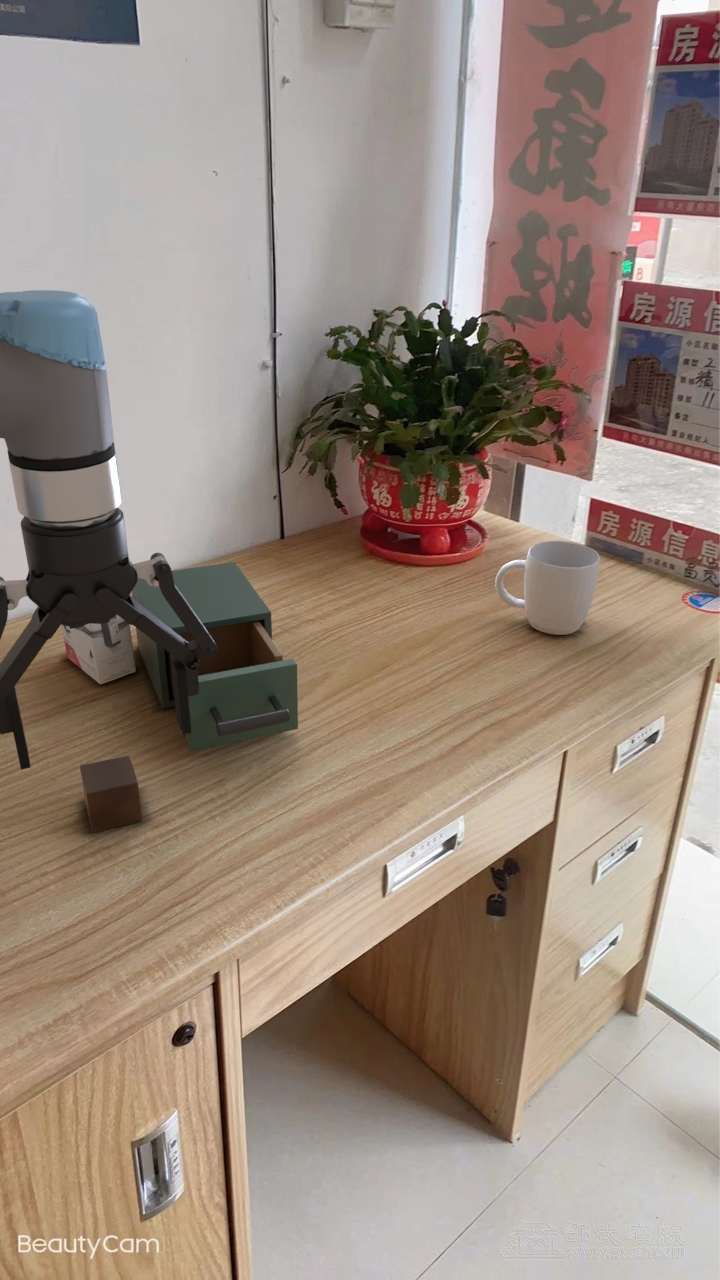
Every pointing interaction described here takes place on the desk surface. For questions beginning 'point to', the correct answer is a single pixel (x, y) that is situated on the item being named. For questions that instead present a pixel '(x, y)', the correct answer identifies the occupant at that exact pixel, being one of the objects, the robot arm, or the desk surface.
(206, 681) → the drawer
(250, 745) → the desk surface
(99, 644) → the ink box
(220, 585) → the cabinet
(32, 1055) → the desk surface
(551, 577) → the mug
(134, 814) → the block
